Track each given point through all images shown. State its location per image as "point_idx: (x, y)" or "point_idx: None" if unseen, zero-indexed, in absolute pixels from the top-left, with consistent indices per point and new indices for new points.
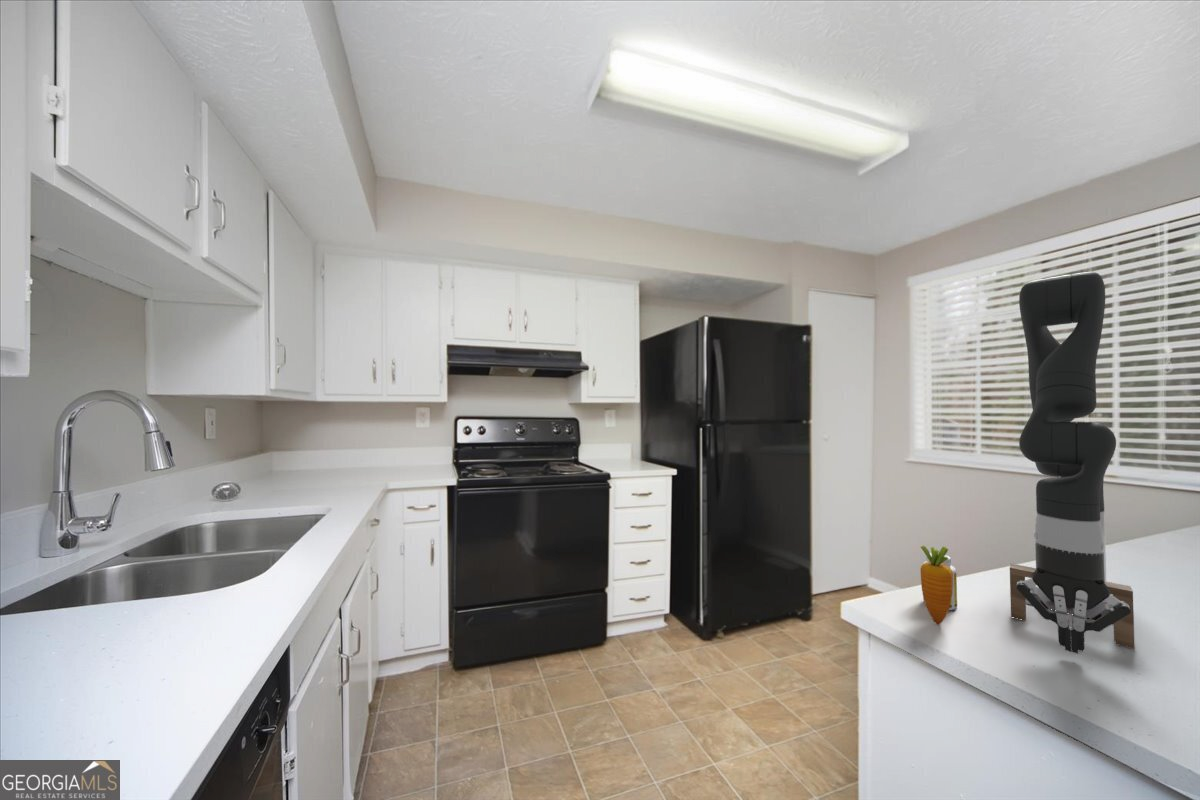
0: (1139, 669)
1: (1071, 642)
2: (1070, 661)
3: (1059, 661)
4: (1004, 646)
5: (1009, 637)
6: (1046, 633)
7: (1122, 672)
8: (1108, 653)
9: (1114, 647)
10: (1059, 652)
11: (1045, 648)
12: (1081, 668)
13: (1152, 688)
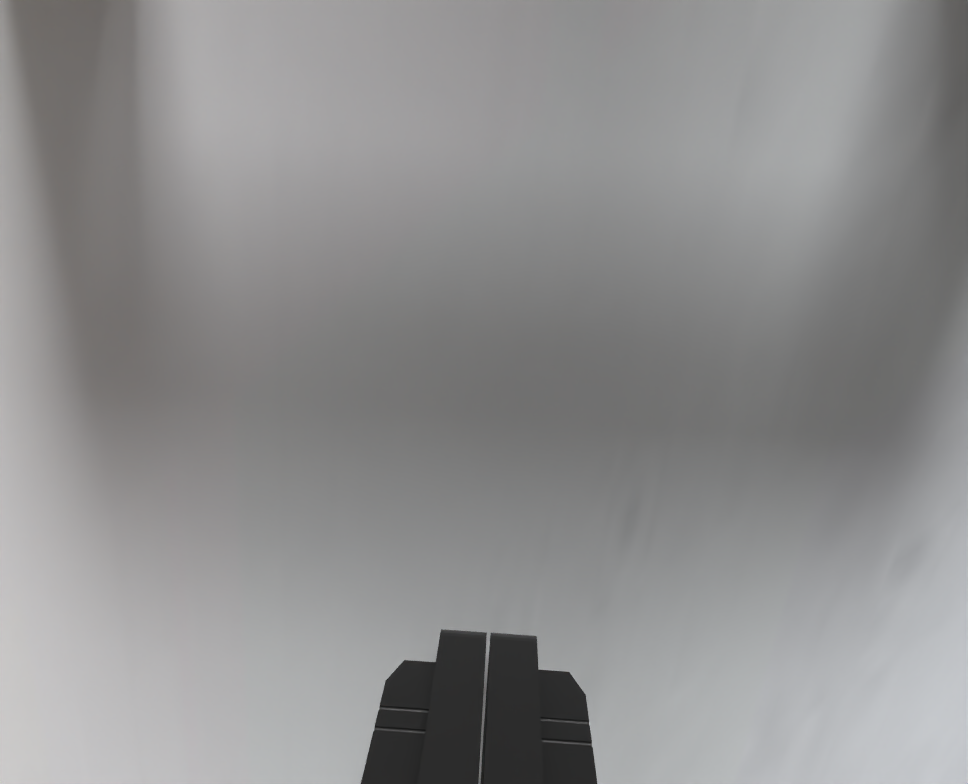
0: (949, 466)
1: (482, 765)
2: None
3: None
4: (59, 716)
5: (61, 499)
6: (331, 118)
7: (797, 619)
8: (801, 260)
9: (907, 22)
10: (416, 546)
11: (321, 538)
12: None
13: (914, 759)
